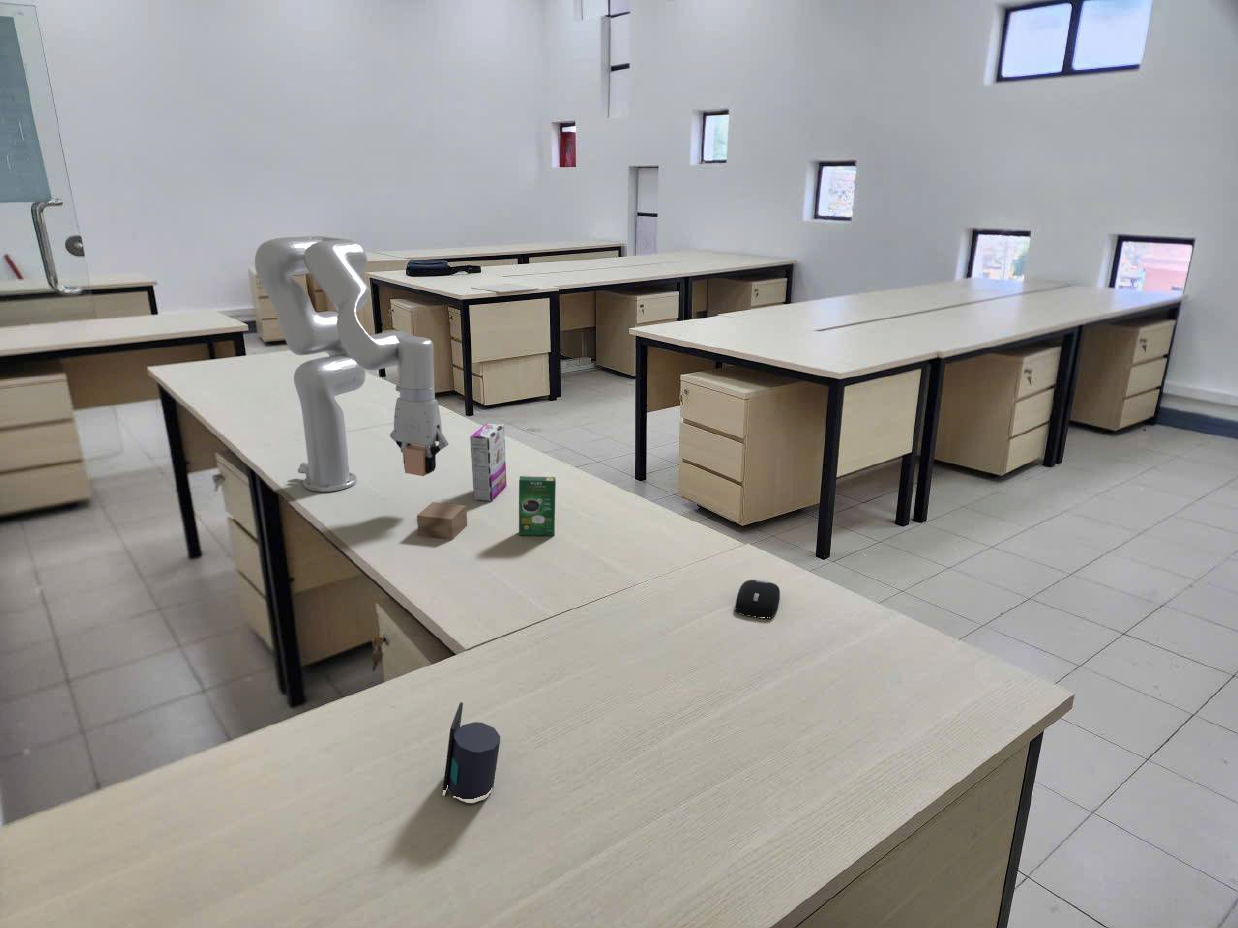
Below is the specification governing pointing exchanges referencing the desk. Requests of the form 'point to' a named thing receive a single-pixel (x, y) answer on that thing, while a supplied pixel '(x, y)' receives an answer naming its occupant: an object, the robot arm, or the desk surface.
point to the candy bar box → (488, 461)
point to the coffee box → (537, 506)
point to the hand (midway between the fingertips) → (419, 469)
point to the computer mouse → (758, 598)
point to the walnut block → (442, 520)
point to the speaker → (471, 758)
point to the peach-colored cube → (415, 459)
